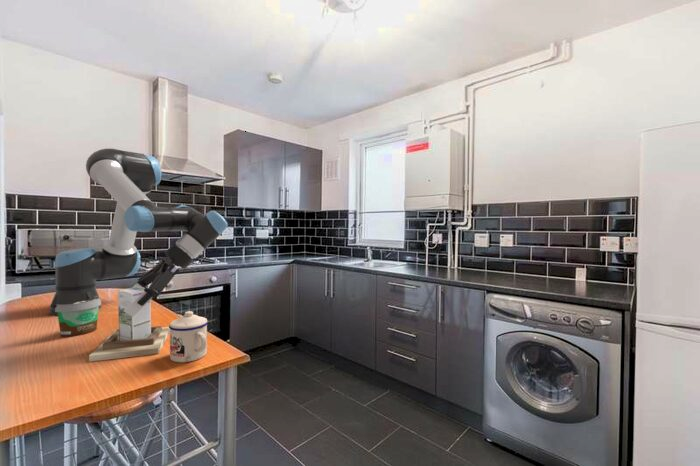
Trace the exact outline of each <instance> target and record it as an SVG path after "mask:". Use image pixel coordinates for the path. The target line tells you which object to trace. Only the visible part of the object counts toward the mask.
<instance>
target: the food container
mask: <svg viewBox="0 0 700 466" xmlns="http://www.w3.org/2000/svg"><path fill="white" fill-rule="evenodd" d="M99 297H100V296H99ZM99 297H98V296H94V299H91V300H86V301H78V302H74V303H72V304H67V305H58V304H57V307H56V308H55V312H57V313H58V315H57V320H58V326H59V334H60V337H61V338H70V337H71V338H72V337H79V336H83V335H84V336H85V335H87V334H88V335H89V334H90V333H93V332H95V331H96V330H97V327H98V320H99V319H98V317H99V310H100V308H99V305H101V306H102V300H101V298H100V299H99Z"/></svg>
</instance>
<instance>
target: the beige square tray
mask: <svg viewBox="0 0 700 466" xmlns="http://www.w3.org/2000/svg"><path fill="white" fill-rule="evenodd" d="M168 336H170V328H169V326H165V327H164V326H163V327H162V325H157V326H151V336H150V338H144V339H134V340H123V341H119V329H116V330H115V331H113V332H111V334H110V335H108V337H107V338H106V339H105V340H103V342H102V343H100V345H98V346H97V348H96V349H95V350H94V351H92V352H91V353H90V354H89V355H88V362H97V361H106V360H107V361H108V360H115V359H124V358H133V357H142V356H151V355H158V354H159V353H160V352H161V349H162V348H163V346H164V344H165V342H166V340H167V338H168Z"/></svg>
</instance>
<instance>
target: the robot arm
mask: <svg viewBox="0 0 700 466" xmlns="http://www.w3.org/2000/svg"><path fill="white" fill-rule="evenodd" d="M85 171H86V172H87V174H88V176H89V177H90V178H91V180H93V182H94V183H96V184H98V185H101V186H102V187H103V188H104V190H106V191H107V193H108V194H109V195H110V196H111V197H112V198H113V199H114V201H116V207H115V211H114V216H113V219H112V220H113V221H112V224H111V229H110V233H109V238H108V239H109V240H108V241H107V242H106V243H104V244H103V245H102V250H98V251H97V250H96V248H93V247H85V248H84V247H83V248H76V249H69V250H64V251H60V252H59V253H57V254H56V255H55V262H54V269H55V293H54V296H53V298H52V300H51V303H50V306H49V315H51V316H52V315H53V316H58V313H57V312H55V308H56V307H57V304H58V305H67V304H72V303H74V302H78V301H86V300H91V299H94V296H98V297H99V299H100V300H101V297H100V295H99V293H98V291H97V288H96V287H97V286H96V283H97V281H102V280H109V279H118V278H121V279H123V278H125V277H131V276H134V275H135V274H136V273H137V272H138V271H139V269H140V267H141V261H142V260H141V254H140V252H139V251H138V248H137V247H136V246H135V242H136V237H137V232H138V233H139V232H141V233H149V232H150V233H151V232H152V233H153V232H155V233H156V232H185V233H184V234H183V235H182V236H180V238H179V239H178V240H176V241H175V244H172V245H171V246H170V247H169V248H168V249H167V250H166V251H165V252H164V255H165V256H166V257H168V259H165V258H163V259H162V260H161V261H160V262H159V263H157V264H156V265H154V266H153V268H151V269H149V270H148V271H147V272H146V273H144V274H143V275H142V276H140V277H139V278H138V280H137V282H136V283H135V284H134V285H133V286H132V287H131V288H133V287H140V288H145V289H144V292H143V293H142V294H140V295H139V296H138V297H137V298H136V299H135V300H134V301H133V302H132V303H131V304H130V305H129V306H128V307H127V308H126V309H125V310H124V312H126V313H127V314H129V315H130V316H132V317H133V316H135V315H136V314H137V313H138V312H139V311H140V310H141V309H142V308H143V307H144V306H145V305H146V304H147V303H148V302H149V301H150V300H151V301H152V299H154V298H155V297H159V296H160V294H162V292H163V290H164V289H166V287H167V286H168V285H169V283H170V282H171V281H172V279H173V278H174V277H175V276H176V275H177V274H178V273H179V272H180V271H181V269H183V270H185V269H187V268H188V267H189V265H191V264H192V263H193V260H194V259H196V258H198V257H199V256H203V252H204V251H205V250H206V249H207V248H208V247H209V246H210V245H211V244H213V242H214V241H215V240H216V239H217V238H218V237H219V236H221V235H222V234H223V232H224V231H225V230H226V229H227V228H228V225H229V224H228V222H227V220H226V219H225V218H224V217H223V215H221V214H220V213H218V212H217V211H215V210H210V211H208V212H206V214H203V213H202V212H200V211H198V210H196V209H195V208H193V207H191V206H187V205H184V204H183V205H182V204H181V205H178V206H175V207H168V206H167V207H166V206H165V207H163V206H156V204H155V203H153V201H151V199H150V198H149V197H148V196H147V194H149V193H151V191H152V188H153V187H156V186H158V185H159V184H160V182H161V180H162V167H161V165H160V162H159V161H158V159H156V158H155V157H154V156H152V155H148V154H145V153H139V152H134V151H127V150H123V149H122V150H120V149H116V148H102V149H99V150H96V151H94V152H93V153H92V154H90V155H89V157H88V158H87V160H86V164H85ZM180 268H181V269H180ZM101 308H102V304H101V305H99V309H101Z"/></svg>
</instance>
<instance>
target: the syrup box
mask: <svg viewBox="0 0 700 466" xmlns="http://www.w3.org/2000/svg"><path fill="white" fill-rule="evenodd" d="M132 287H133V286H132ZM132 287H128V288H124V289H120V290H118V291H117V297H118V298H117V303H118V305H117V307H118V330H119V341H123V340H134V339H144V338H150V336H151V327H152V313H151V312H152V311H151V310H152V309H151V306H152V305H151V303H152V302H151V301H152V299H151V300H150V301H149V302H148V303H147V304H146V305H145V306H144V307H143V308H142V309H141V310H140V311H139V312H138V313H137V314H136V315H135V316H133V317H132V316H130V315H129V314H127V313H126V312H124V310H125V309H126V308H127V307H128V306H129V305H130V304H131V303H132V302H133V301H134V300H135V299H136V298H137V297H138V296H139V295H140V294H142V293H143V292H144V289H145V288H144V287H143V288H140V287H133V288H132Z"/></svg>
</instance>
